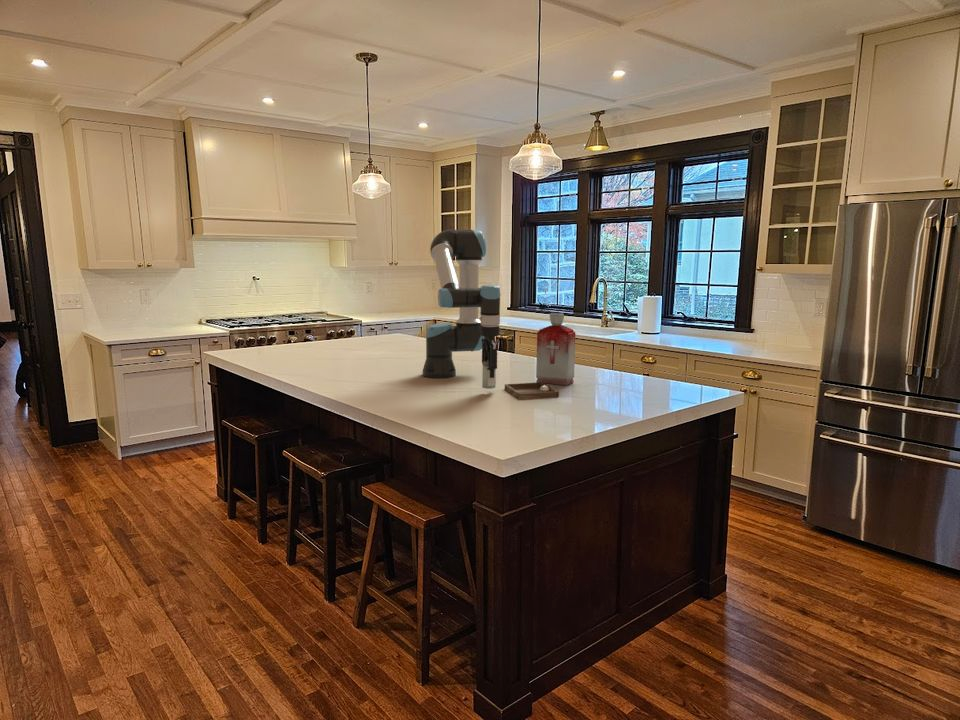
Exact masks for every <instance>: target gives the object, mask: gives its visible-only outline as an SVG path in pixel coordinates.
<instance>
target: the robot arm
mask: <svg viewBox="0 0 960 720" xmlns="http://www.w3.org/2000/svg"><path fill="white" fill-rule="evenodd" d="M431 241H432V242H431V243H430V247H429V248H430V249H429V250H430V252H429V253H430V255H431V256H430V257H431V258H432V260H433V261H434V263H435V268H436V272H437V277H438V281H439V284H440V289H438V291H437V303H438V306H439V307H440V308H448V309H452V308H453V309H456V308H457V309H459V318H458V319H457V320H456V322H455V323H456V324H455V325H453V324H452V322H439V323H434V324H430V325H429V326H428V325H427V327H426V331H425V345H426V346H425V349H426V351H425V355H426V356H425V358H426V359H425V362H424V365H423V368H422V376H423V377H425V378H432V379H445V378H452V377H455V376H456V375H457V369H456V366H455V364H454V360H453V352H455V353H456V352H459V353H460V352H476V351H477V352H479V351H481V362H482V361H486V360H488V364H489V368H487V370H488V386H495V387H496V385H495V369H496V370H497V369H498V348H499V347H498V346H499V345H498V343H497V341H496V337H498V336H499V335H500V329H501V328H500V327H501V326H500V324H501V315H500V313H501V295H502V294H501V287H500V286H499V285H495V284H486V285H481V287H479V265H480V263H481V262H482V261H483V257H485V256H486V253H487V244H486V239H485V235H484V234H483V232H482V231H481V230H477V229H446V230H445V229H444V230H442V231H441V232H439V233H438V234H437V235H435V236H434V238H433V239H432V240H431ZM453 257H455V261H456V263H457V264H458V265H459V266H458V267H459V268H458V269H459V270H458V271H459V273H458V274H459V275H458V274H457V270H456V266H455V264H454V263H455V262H454V259H453ZM458 276H459V277H458ZM479 308H480V313H479ZM479 314H480V316H479Z"/></svg>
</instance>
